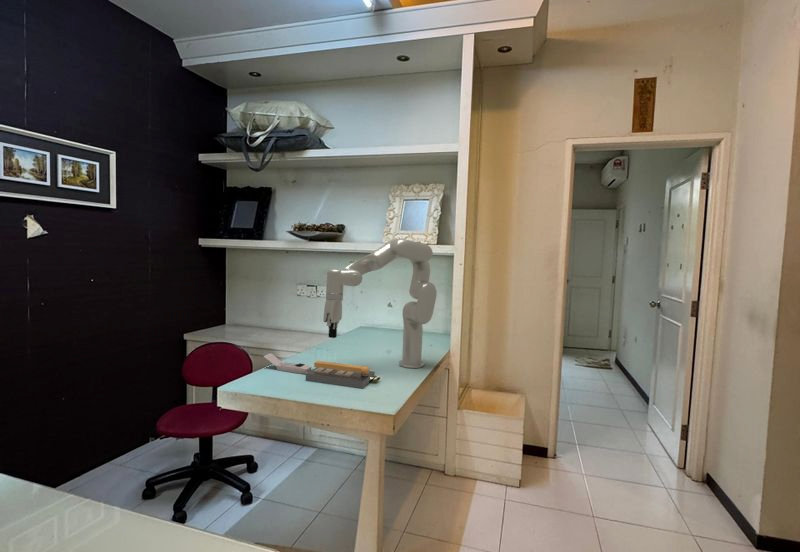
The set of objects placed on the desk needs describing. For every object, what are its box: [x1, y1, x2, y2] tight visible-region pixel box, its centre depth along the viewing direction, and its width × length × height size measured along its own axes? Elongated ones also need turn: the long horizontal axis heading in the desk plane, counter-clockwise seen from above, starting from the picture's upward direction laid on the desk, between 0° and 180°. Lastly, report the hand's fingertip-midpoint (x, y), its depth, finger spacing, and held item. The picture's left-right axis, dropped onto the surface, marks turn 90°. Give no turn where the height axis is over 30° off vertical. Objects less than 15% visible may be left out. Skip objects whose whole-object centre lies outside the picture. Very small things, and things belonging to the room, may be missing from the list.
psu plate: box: [305, 367, 376, 390], centre depth 174 cm, size 14×26×4 cm, turn 74°
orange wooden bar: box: [313, 360, 370, 374], centre depth 173 cm, size 4×25×2 cm, turn 74°
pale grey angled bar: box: [263, 352, 313, 375], centre depth 184 cm, size 6×6×25 cm
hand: (332, 337), depth 181 cm, fingers closed
